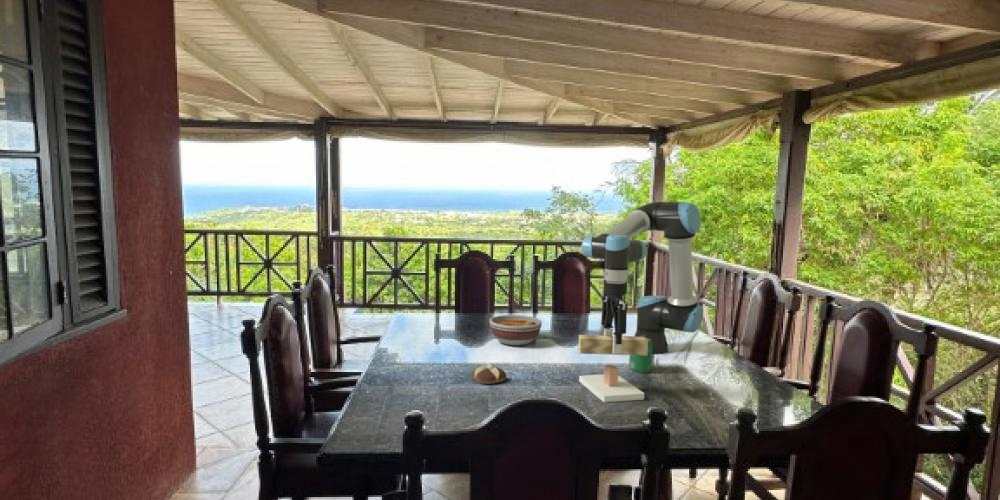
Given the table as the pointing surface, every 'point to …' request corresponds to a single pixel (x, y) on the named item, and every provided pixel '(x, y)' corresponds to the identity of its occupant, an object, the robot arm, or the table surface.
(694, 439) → the table surface
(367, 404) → the table surface
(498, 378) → the bread
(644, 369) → the beverage can
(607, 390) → the fulcrum
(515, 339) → the bowl
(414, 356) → the table surface
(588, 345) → the oak bar
